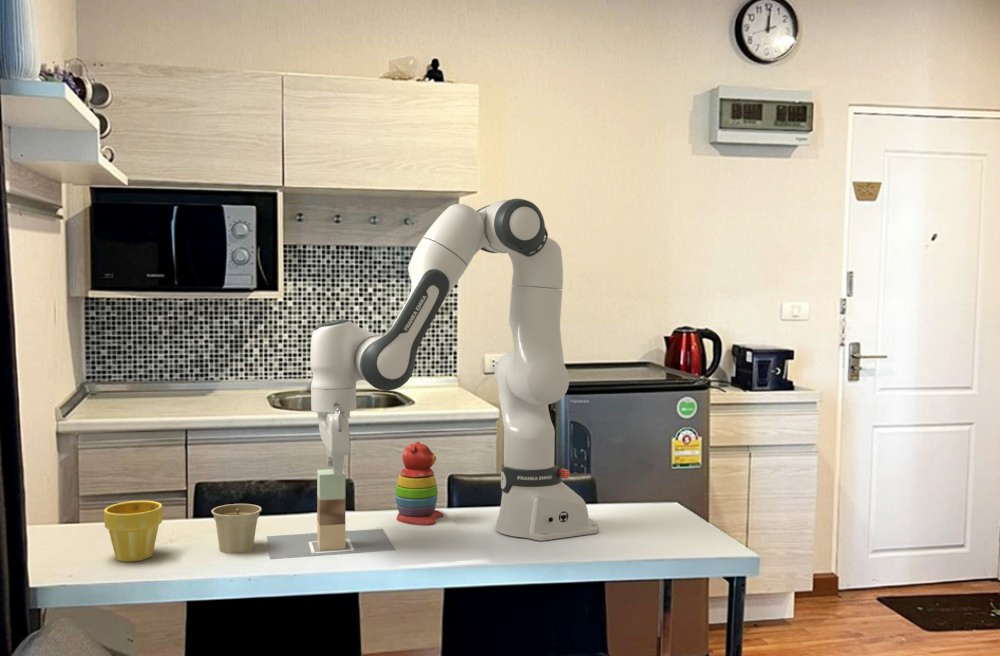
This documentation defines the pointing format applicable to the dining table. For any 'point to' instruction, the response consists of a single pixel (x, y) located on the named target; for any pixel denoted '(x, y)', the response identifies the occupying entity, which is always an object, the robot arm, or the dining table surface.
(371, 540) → the building board
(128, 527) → the plant pot
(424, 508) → the stacking bear
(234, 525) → the flower pot
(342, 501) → the walnut block
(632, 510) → the dining table surface
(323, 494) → the sage block
